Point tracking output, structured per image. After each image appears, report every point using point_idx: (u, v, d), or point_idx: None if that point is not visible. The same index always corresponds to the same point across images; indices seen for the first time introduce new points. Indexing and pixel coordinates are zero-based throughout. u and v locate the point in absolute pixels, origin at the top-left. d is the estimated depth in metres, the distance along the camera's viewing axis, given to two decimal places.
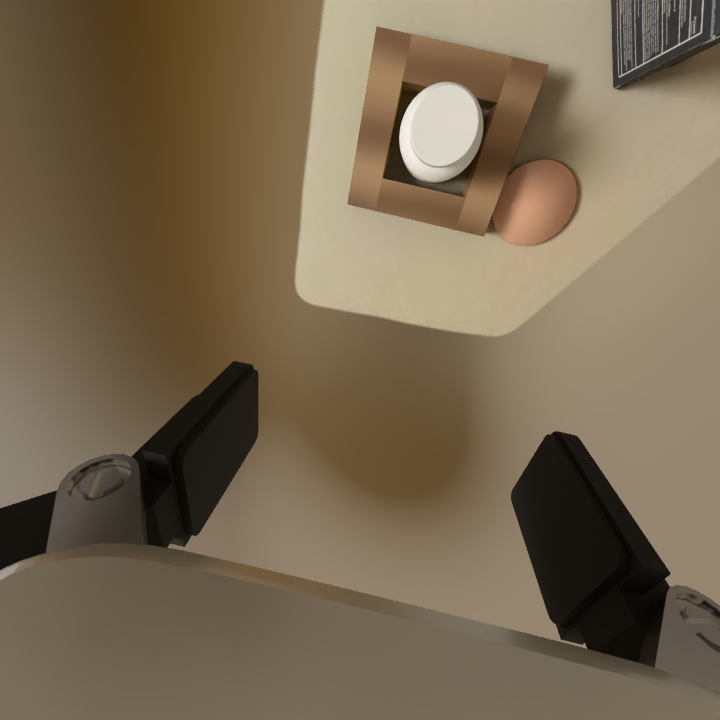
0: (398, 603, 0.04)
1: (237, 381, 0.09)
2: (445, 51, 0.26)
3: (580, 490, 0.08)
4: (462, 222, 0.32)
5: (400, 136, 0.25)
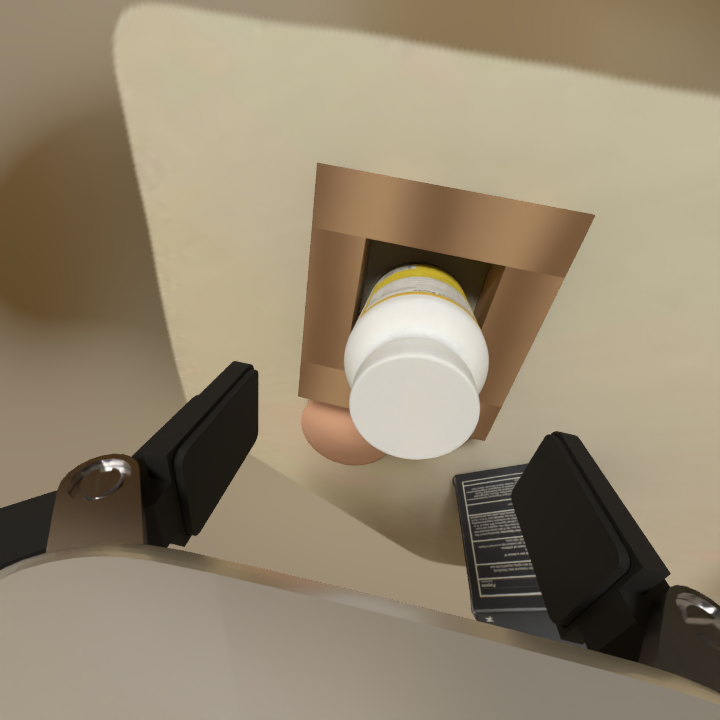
0: (398, 603, 0.04)
1: (237, 381, 0.09)
2: (528, 328, 0.18)
3: (580, 490, 0.08)
4: (312, 369, 0.21)
5: (414, 301, 0.13)
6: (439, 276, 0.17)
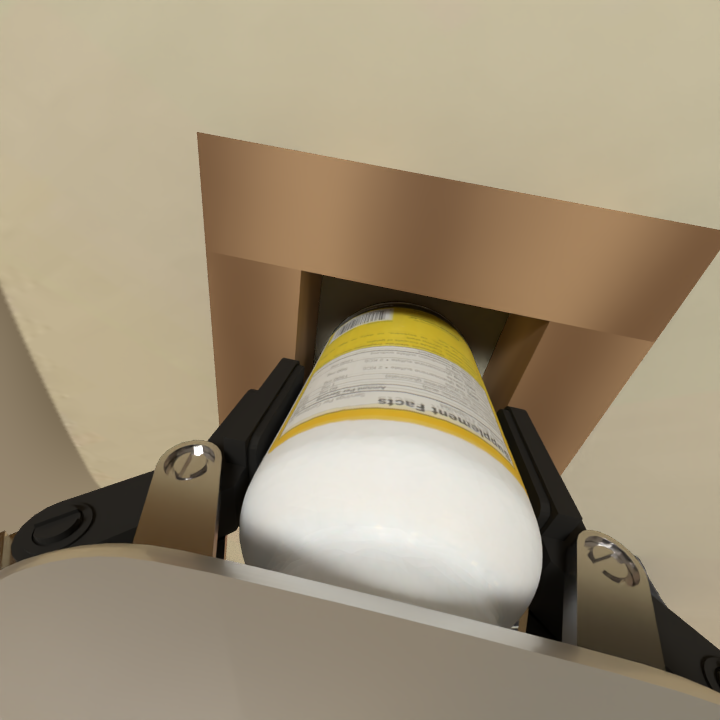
0: (398, 603, 0.04)
1: (290, 376, 0.09)
2: (581, 417, 0.11)
3: (519, 454, 0.08)
4: None
5: (375, 450, 0.05)
6: (432, 338, 0.09)
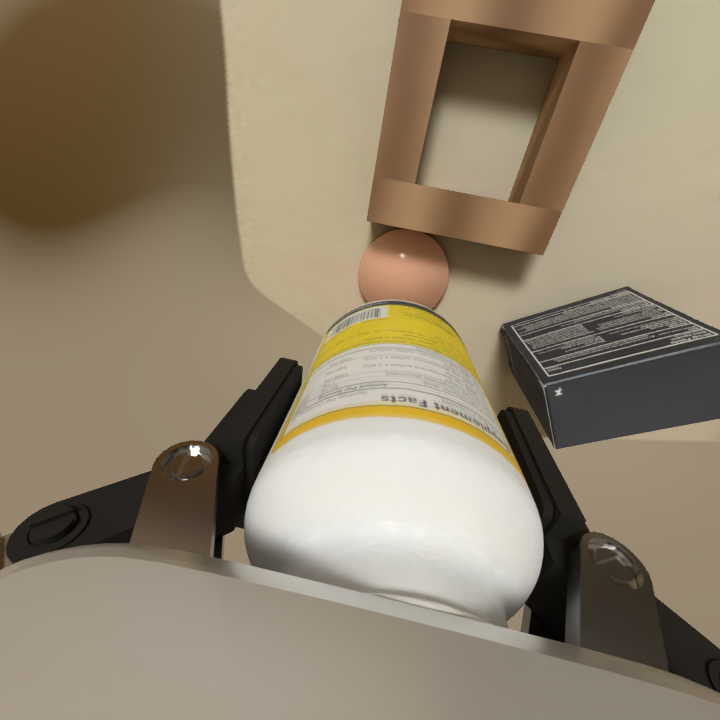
0: (398, 603, 0.04)
1: (287, 376, 0.09)
2: (595, 113, 0.19)
3: (521, 456, 0.08)
4: (383, 185, 0.23)
5: (381, 446, 0.05)
6: (428, 335, 0.10)
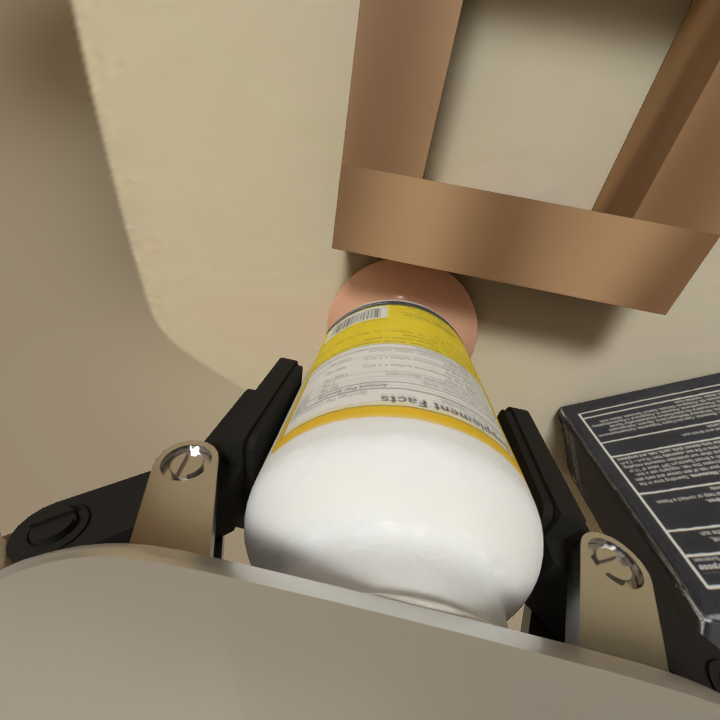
0: (398, 603, 0.04)
1: (287, 376, 0.09)
2: None
3: (521, 456, 0.08)
4: (361, 181, 0.12)
5: (381, 446, 0.05)
6: (428, 335, 0.10)
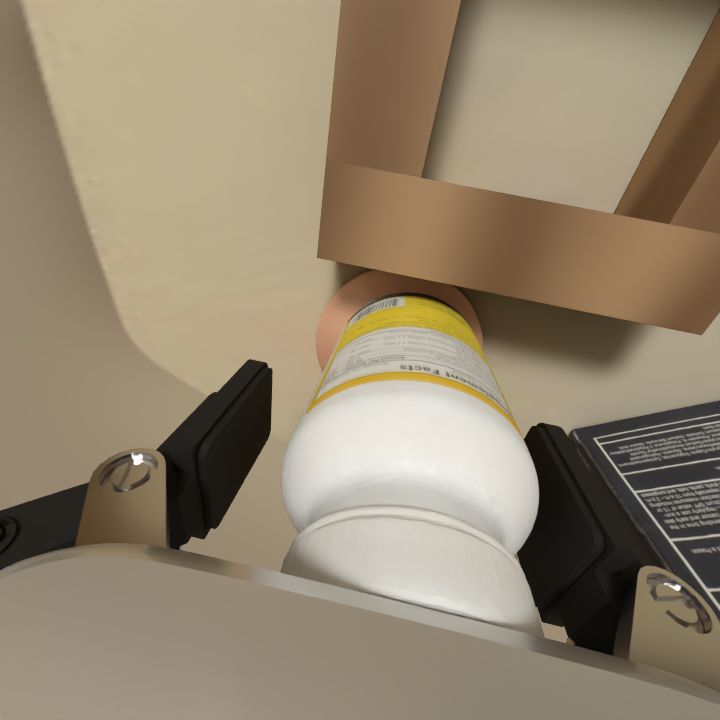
0: (398, 603, 0.04)
1: (253, 379, 0.09)
2: None
3: (561, 478, 0.08)
4: (349, 181, 0.10)
5: (401, 402, 0.06)
6: (441, 321, 0.11)
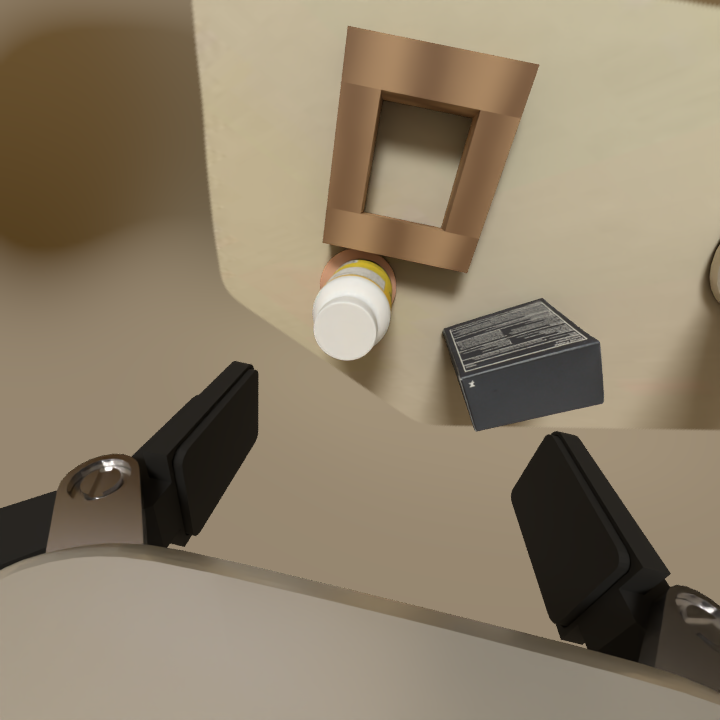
0: (398, 603, 0.04)
1: (237, 381, 0.09)
2: (497, 163, 0.25)
3: (580, 490, 0.08)
4: (335, 214, 0.28)
5: (347, 279, 0.24)
6: (369, 267, 0.28)
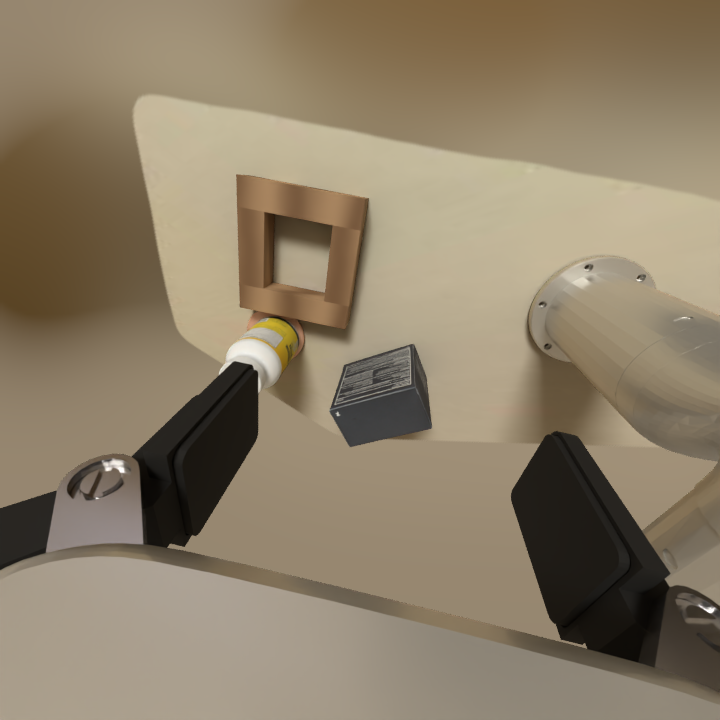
0: (398, 603, 0.04)
1: (237, 381, 0.09)
2: (350, 258, 0.35)
3: (580, 490, 0.08)
4: (245, 288, 0.38)
5: (246, 342, 0.34)
6: (273, 326, 0.39)
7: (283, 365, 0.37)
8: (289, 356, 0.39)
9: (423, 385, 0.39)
